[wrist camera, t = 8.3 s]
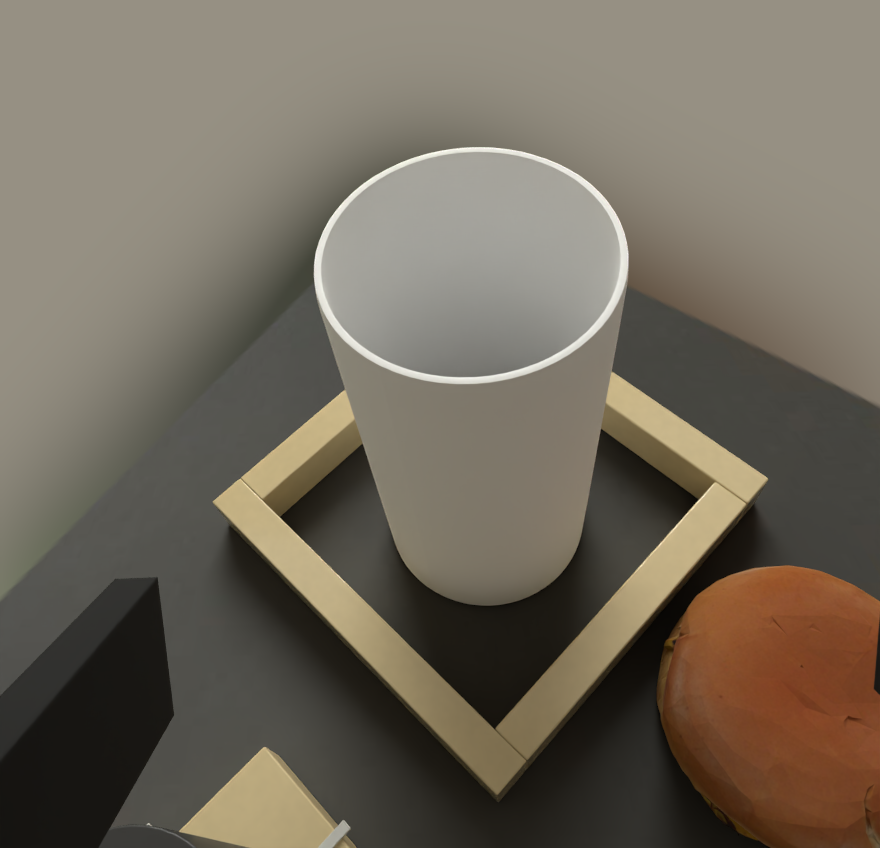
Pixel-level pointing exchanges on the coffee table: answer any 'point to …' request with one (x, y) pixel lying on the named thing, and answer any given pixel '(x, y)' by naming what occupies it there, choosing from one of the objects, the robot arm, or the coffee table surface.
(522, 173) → the cup
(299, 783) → the panel
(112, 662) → the robot arm
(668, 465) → the square frame
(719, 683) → the burger
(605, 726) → the coffee table surface
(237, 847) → the burner knob
